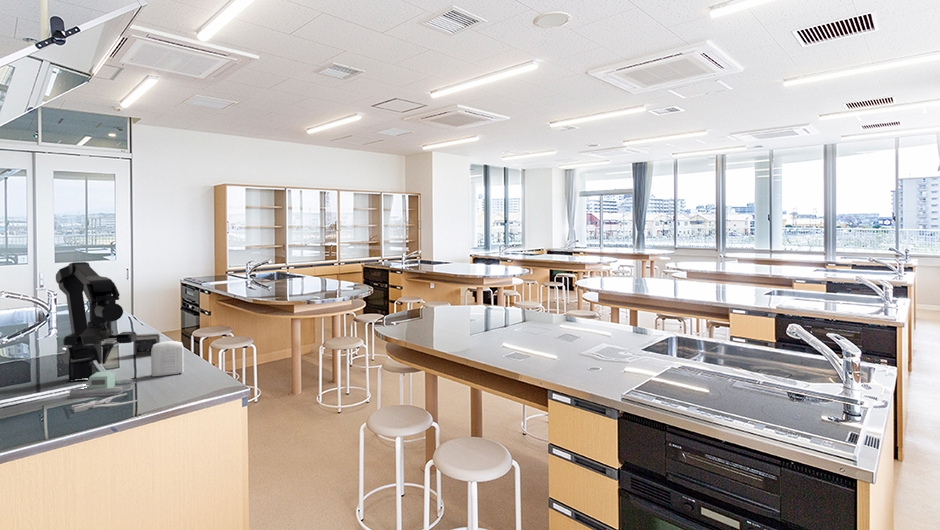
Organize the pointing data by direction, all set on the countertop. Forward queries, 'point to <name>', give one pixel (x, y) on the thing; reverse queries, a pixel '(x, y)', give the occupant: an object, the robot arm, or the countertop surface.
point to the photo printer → (167, 358)
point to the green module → (102, 380)
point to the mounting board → (102, 389)
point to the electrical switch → (145, 343)
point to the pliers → (95, 403)
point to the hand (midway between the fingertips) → (101, 363)
